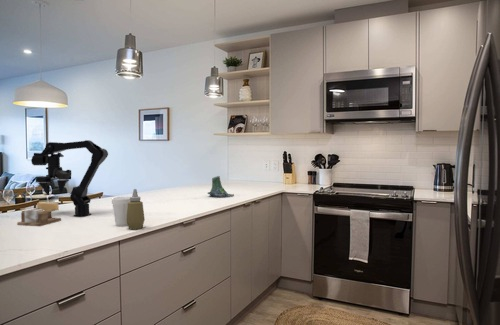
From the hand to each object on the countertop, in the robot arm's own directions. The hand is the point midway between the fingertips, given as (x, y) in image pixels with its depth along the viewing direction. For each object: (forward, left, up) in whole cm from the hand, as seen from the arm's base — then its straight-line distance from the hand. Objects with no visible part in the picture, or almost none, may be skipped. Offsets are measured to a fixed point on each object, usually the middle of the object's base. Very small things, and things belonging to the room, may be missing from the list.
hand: (54, 193), depth 183 cm
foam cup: (-49, +11, -12) cm, 52 cm away
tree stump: (-65, -92, -12) cm, 113 cm away
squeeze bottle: (-59, +16, -12) cm, 62 cm away
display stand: (-6, +16, -12) cm, 21 cm away
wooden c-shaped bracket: (-6, +15, -6) cm, 18 cm away
